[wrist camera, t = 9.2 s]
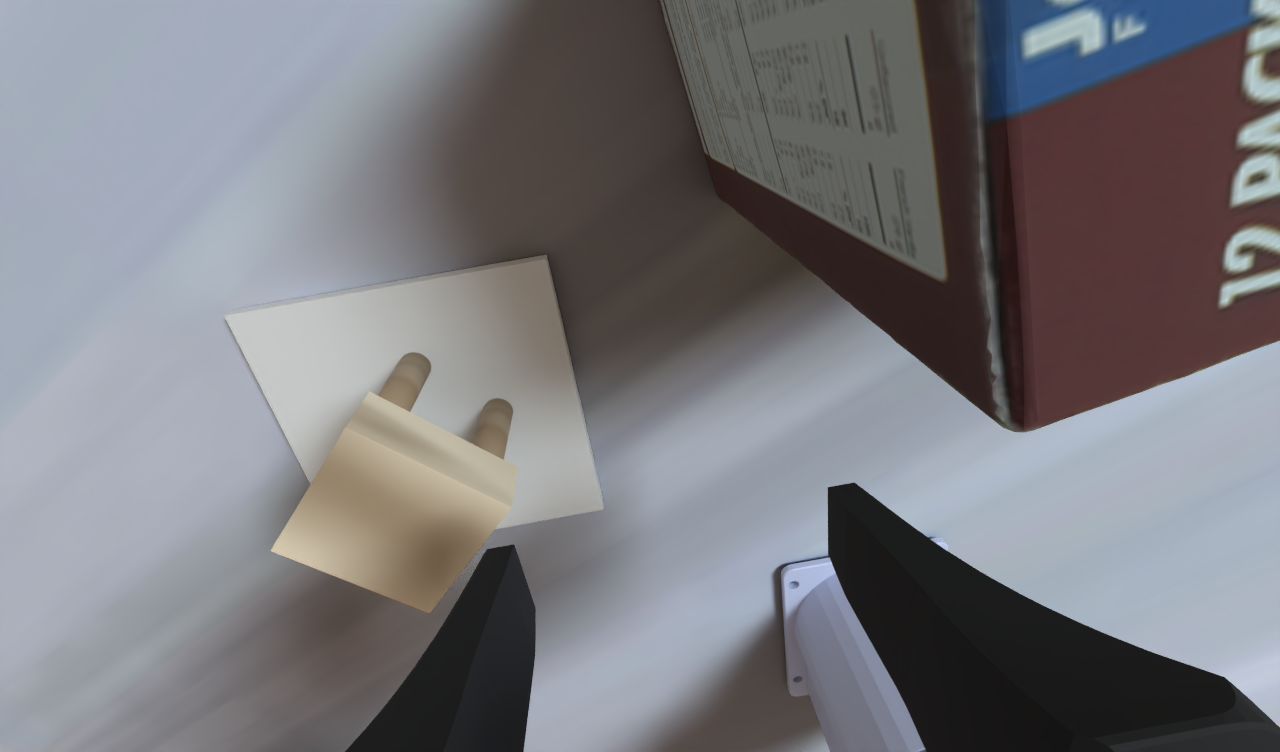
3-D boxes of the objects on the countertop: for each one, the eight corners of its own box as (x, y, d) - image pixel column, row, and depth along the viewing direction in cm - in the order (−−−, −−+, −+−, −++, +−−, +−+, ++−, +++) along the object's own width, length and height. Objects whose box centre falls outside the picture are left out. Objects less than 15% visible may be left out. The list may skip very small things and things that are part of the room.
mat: (603, 500, 26) (603, 509, 25) (351, 546, 26) (347, 556, 25) (546, 254, 21) (545, 259, 20) (233, 309, 20) (223, 315, 20)
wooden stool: (462, 495, 24) (429, 613, 19) (343, 438, 22) (270, 550, 17) (527, 405, 23) (511, 507, 17) (405, 337, 21) (345, 426, 16)
